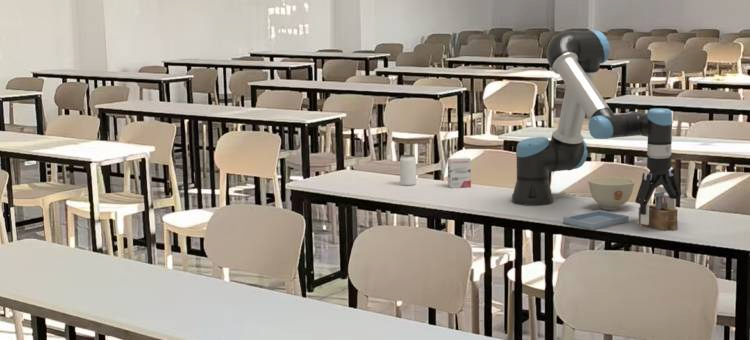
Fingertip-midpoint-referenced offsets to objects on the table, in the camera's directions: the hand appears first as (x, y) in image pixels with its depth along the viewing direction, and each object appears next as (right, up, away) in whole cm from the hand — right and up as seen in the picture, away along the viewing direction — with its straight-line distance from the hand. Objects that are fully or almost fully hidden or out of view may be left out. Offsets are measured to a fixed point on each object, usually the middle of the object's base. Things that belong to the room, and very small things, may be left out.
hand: (658, 221), depth 331 cm
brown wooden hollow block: (0, -2, 0) cm, 2 cm away
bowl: (-8, +3, +30) cm, 31 cm away
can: (-79, +11, +84) cm, 116 cm away
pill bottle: (+8, +1, +18) cm, 20 cm away
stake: (0, -2, 0) cm, 2 cm away
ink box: (-58, +10, +77) cm, 97 cm away
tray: (-19, -1, +8) cm, 20 cm away
